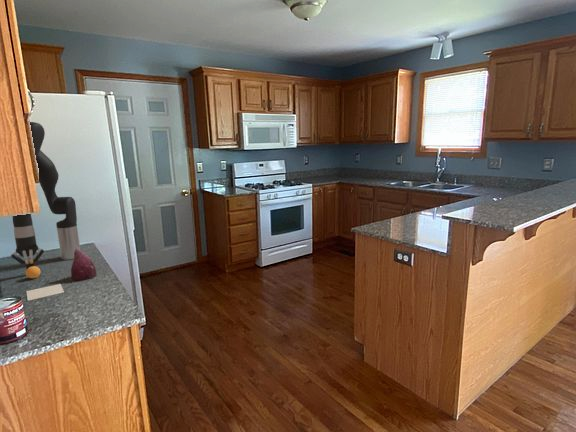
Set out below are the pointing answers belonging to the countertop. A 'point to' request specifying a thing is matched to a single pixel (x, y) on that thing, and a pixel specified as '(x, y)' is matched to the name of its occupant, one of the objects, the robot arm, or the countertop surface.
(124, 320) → the countertop surface
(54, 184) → the robot arm
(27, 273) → the ball
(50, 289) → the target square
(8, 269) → the countertop surface
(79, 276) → the vegetable
